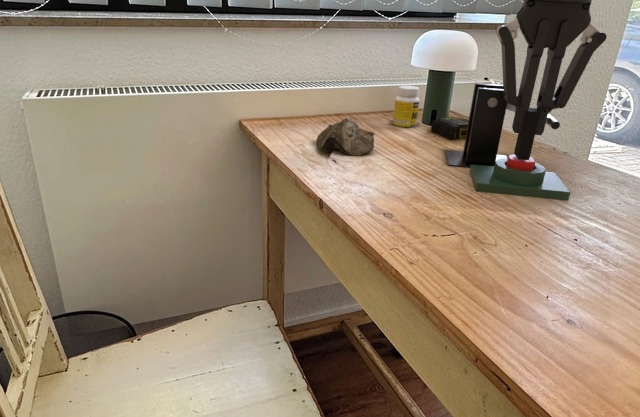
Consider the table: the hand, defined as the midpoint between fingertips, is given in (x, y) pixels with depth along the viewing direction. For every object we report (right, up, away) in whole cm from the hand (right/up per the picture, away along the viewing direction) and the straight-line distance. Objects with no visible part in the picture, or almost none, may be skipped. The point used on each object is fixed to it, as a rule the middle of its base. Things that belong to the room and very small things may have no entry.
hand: (521, 156), depth 68 cm
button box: (0, -5, +2) cm, 5 cm away
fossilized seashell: (-24, +2, +15) cm, 28 cm away
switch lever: (+2, +7, +8) cm, 11 cm away
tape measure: (-3, +6, +26) cm, 27 cm away
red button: (0, -2, +1) cm, 2 cm away
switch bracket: (-2, 0, +12) cm, 12 cm away
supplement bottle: (-11, +9, +31) cm, 34 cm away
